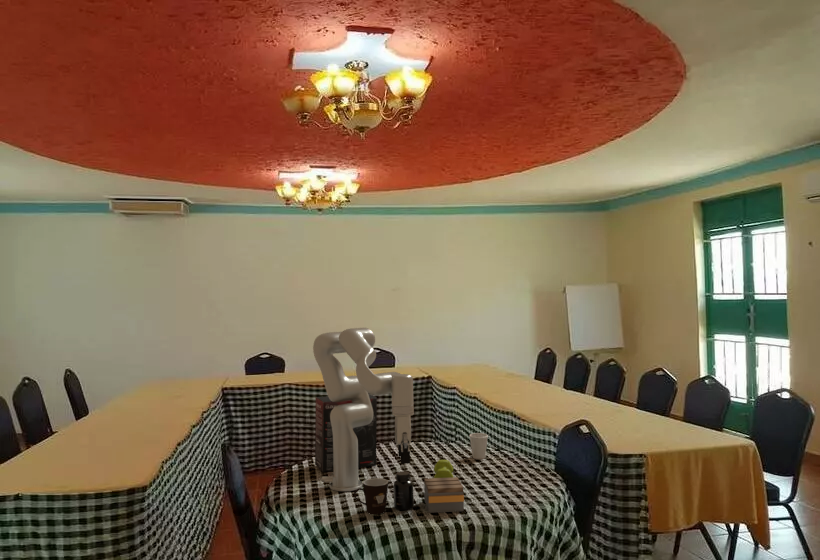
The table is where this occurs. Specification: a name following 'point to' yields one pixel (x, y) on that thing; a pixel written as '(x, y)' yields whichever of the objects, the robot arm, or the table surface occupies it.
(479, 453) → the dixie cup
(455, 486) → the pallet
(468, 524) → the table surface
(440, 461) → the dumbbell
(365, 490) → the coffee mug
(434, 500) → the dock
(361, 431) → the headset box
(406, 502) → the supplement bottle
